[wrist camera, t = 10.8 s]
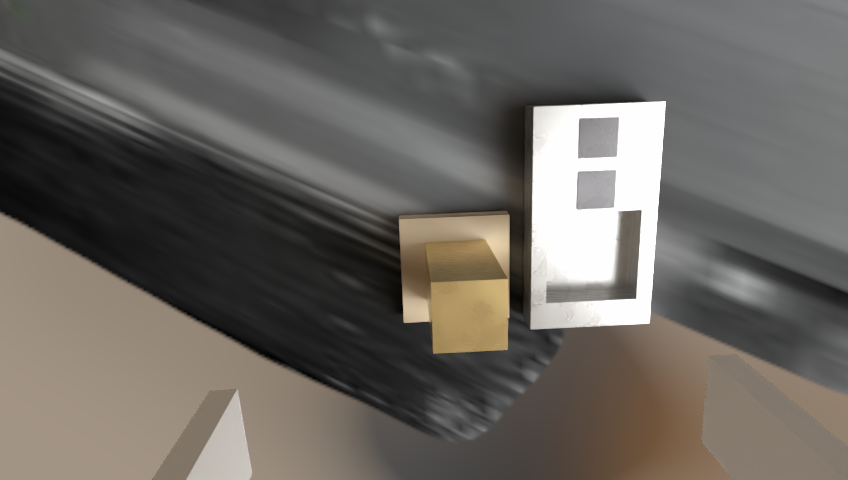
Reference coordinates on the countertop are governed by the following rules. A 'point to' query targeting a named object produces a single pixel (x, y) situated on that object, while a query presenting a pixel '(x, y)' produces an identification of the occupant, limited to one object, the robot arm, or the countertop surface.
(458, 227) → the coaster
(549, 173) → the white recessed slab
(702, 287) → the countertop surface
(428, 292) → the block
